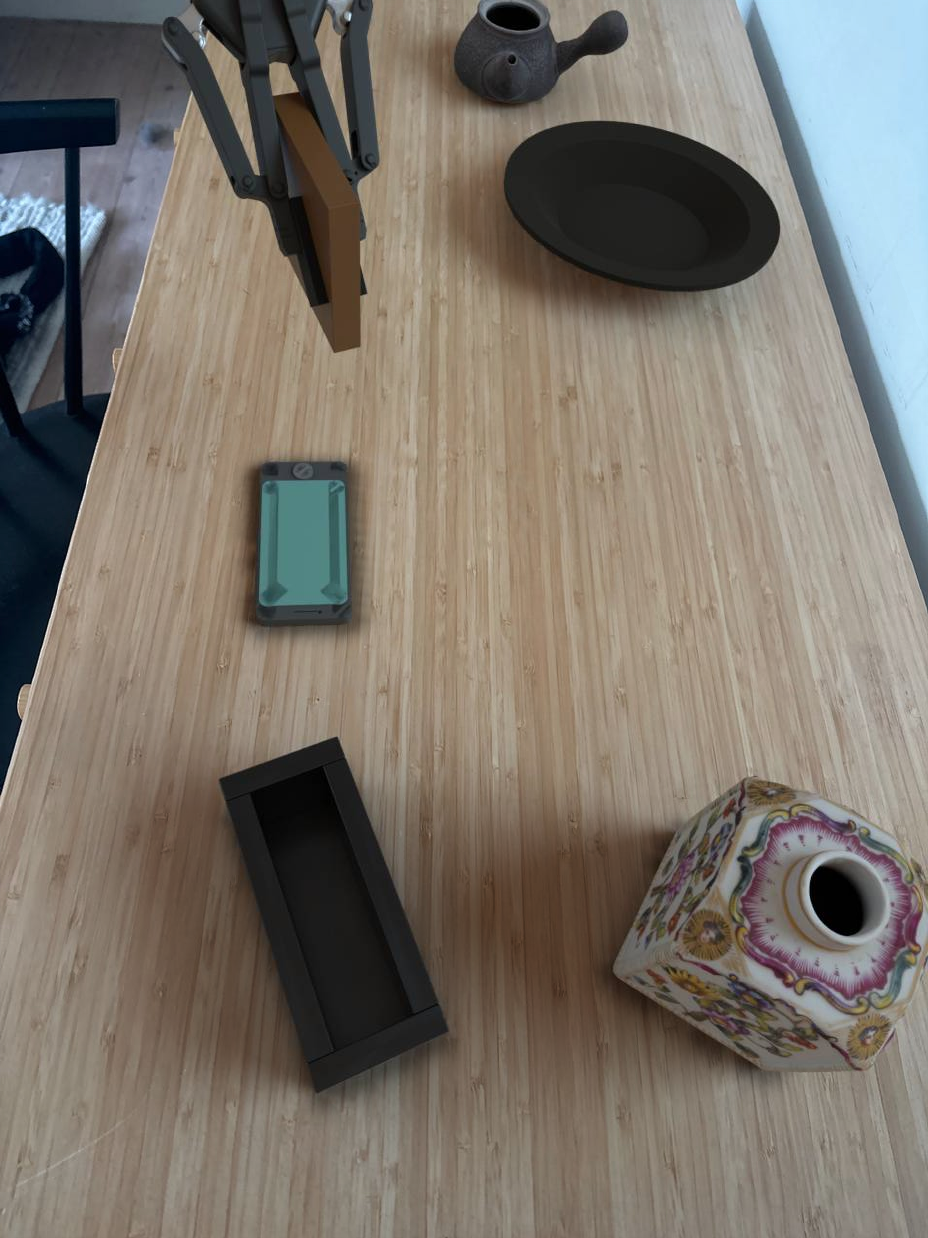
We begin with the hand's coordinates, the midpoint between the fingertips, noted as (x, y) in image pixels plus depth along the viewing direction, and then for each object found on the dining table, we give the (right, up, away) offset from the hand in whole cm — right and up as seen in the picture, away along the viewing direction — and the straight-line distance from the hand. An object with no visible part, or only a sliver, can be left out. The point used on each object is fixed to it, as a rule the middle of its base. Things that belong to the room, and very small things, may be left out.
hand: (338, 299), depth 58 cm
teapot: (+16, +40, +44) cm, 62 cm away
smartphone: (-5, -16, +12) cm, 20 cm away
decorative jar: (+26, -44, 0) cm, 51 cm away
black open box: (0, -42, -1) cm, 42 cm away
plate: (+26, +18, +33) cm, 45 cm away
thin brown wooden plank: (-2, +2, +4) cm, 5 cm away
